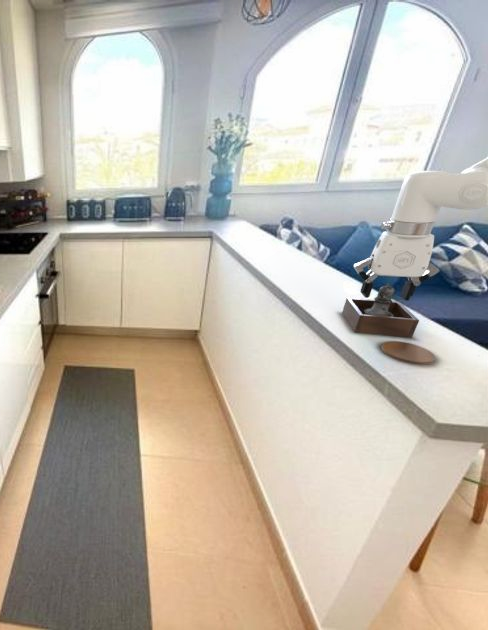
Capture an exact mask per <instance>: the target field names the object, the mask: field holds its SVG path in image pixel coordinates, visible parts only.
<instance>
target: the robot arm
mask: <svg viewBox="0 0 488 630" xmlns="http://www.w3.org/2000/svg"><path fill="white" fill-rule="evenodd" d="M487 206H488V156H487V157H486V158H484V159H482V160H481V161H479V162H478V163H475V164H473V165H472V166H471V167H469V168H466V169H465V170H463V171H462V172H460V173H458V172H457V173H450V172H448V171H445V170H417V171H413V172H410V173H408V174H407V175H406V176H405V177H404V179H403V182H402V184H401V187H400V190H399V194H398V196H397V198H396V203H395V206H394V208H393V211H392V213H391V214H392V215H391V218H389V219H388V221H386V222H382V223H381V225H380V229H385V230H386V231H383V232H382V233H381V235H380V236H379V238H378V240H377V242H376V244H375V245H374V247H373V250H372V251H371V254H370V256H369V257H367V258H365V259H363V260H361V261H359V262H357V263H354V264H353V268H354V270H355V271H356V272H357V274H358V275H359V276H360V278H361V279H362V280H363V282H362V285H361V288H360V293H361V294H362V297H364V299H368V298H370V296H371V294H372V293H371V292H372V290H373V287H374V282H373V281H374V280H376V278H378V277H379V276H381V277H399V278H400V277H402V278H407V279H408V280H407V281H405V282H404V283H403V286H402V289H401V292H400V295H399V296H400V298H402V299H403V300H404V301H406V302H407V301H410V299H411V297H413V295H414V293H415V291H416V288H417V287H418V286H420V285H421V284H422V283H424V282H426V281H427V280H429V279H430V278H431V277H433V276H435V275H436V274H438V273H439V272H440V269H439V268H438V267H437V266H435V265H434V264H433V263H432V262H431V257H432V254H433V248H434V243H435V235H434V234H432V233H431V232H432V230H433V228H434V225H435V222H436V220H437V217H438V214H439V212H440V209H441V207H442V208H443V207H444V208H450V209H456V210H466V211H468V210H469V211H470V210H471V211H472V210H478V209H481V208H486V207H487ZM366 267H367V269H368V271H367V272H366V271H365V270H364V268H366Z"/></svg>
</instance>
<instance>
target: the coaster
mask: <svg viewBox="0 0 488 630" xmlns="http://www.w3.org/2000/svg"><path fill="white" fill-rule="evenodd" d="M380 349H381V351H382V352H383V353H384V354H386V355H387V356H389V357H391V358H393V359H396V360H398V361H401V362H405V363H408V364H409V363H410V364H417V365H428V364H432V363H434V361H435V359H436V356H435V354H434V353H432V351H430V350H428V349H427V348H425V347H422V346H420V345H416V344H413V343H409V342H406V341H405V342H404V341H398V340H397V341H393V340H392V341H391V340H390V341H385V342H383V343H382V345H381V347H380Z"/></svg>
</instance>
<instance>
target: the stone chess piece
mask: <svg viewBox="0 0 488 630" xmlns="http://www.w3.org/2000/svg"><path fill="white" fill-rule="evenodd" d="M394 293H395V288H394V287H393V286H391V283H389V282H388V283H387V284H386V285H383V286H381V287H380V288H379V289H378V292H377V295H376V297H374V298H373V300H375V302H374V305H373V307H372V308H369V309H365V310H364V312H365V315H376V316H388V317H393V314H392V313H390V312H388V308H389V305H390V303H391V302H392V301H393V299H392V298H393V295H394Z"/></svg>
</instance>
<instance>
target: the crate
mask: <svg viewBox="0 0 488 630" xmlns="http://www.w3.org/2000/svg"><path fill="white" fill-rule="evenodd" d="M374 302H375V300H374V299H368V298H357V297H356V298H354V297H346V299H345V301H344V305H343V309H342V311H341V315H342V316H343V318H344V319H345V321H346V322H347V324H348V325H349V326H350V328H351V330H352V331H353V333H357V334H365V335H367V334H368V335H375V336H385V337H394V338H396V337H397V338H405V339H412V338H413V336H414V334H415V332H416V330H417V327H418V325H419V322H420V320H419V319H418V318H417V316H415V315H414V314H413V313H412V312H411V311H410V310H409V309H408V308H407V307H406V306H405V305H403V303H402V302H400V301H397V300H396V301H395V300H392V302H391V303H390V305H389V308H388V312H390V313H392V314H393V317H388V316H376V315H365V312H364V310H365V309H369V308H372V307H373V305H374Z"/></svg>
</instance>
